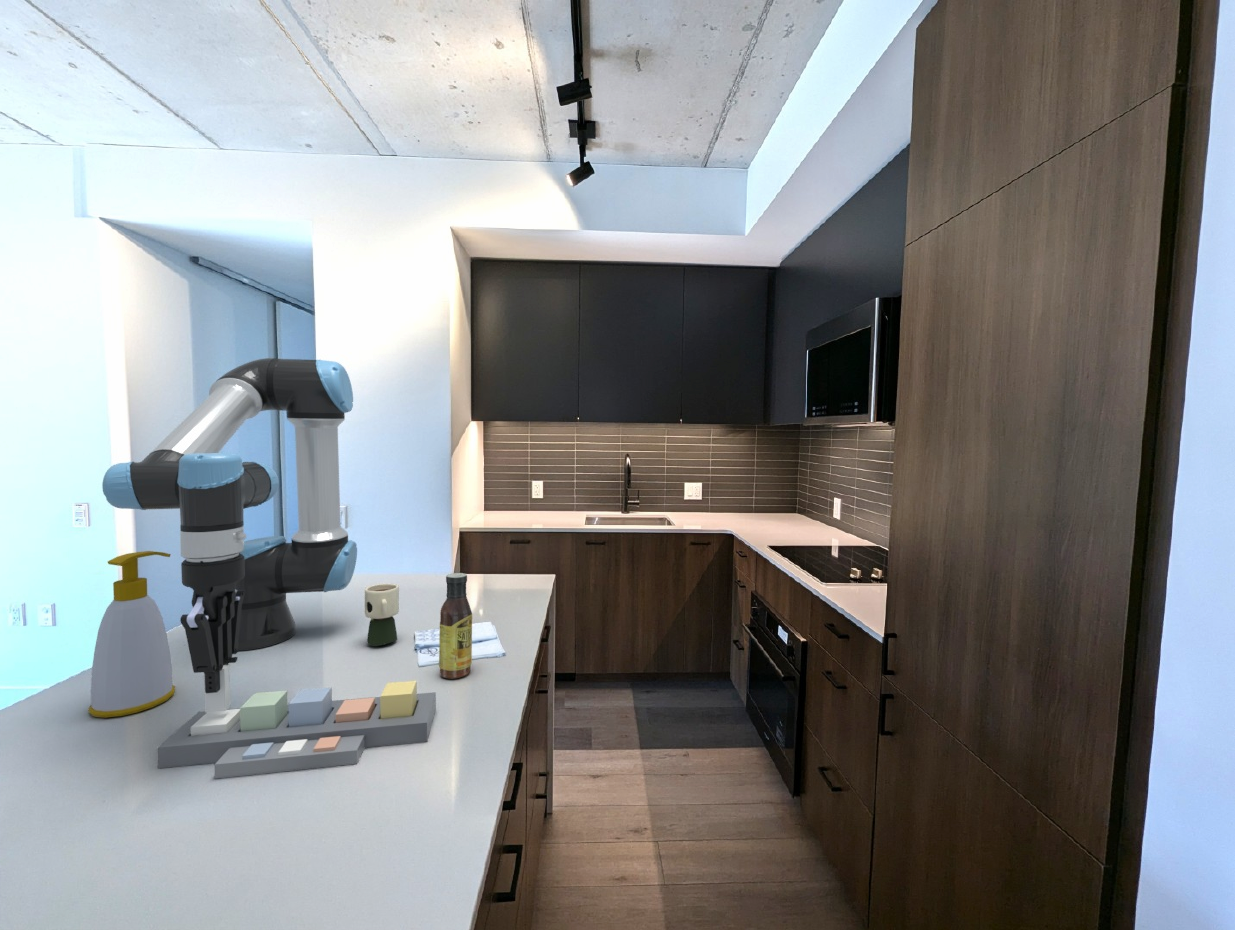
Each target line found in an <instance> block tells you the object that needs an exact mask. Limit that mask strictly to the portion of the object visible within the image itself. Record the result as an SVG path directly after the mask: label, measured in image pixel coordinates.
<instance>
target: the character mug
mask: <svg viewBox="0 0 1235 930" xmlns="http://www.w3.org/2000/svg"><path fill="white" fill-rule="evenodd" d="M399 592H400V586H399V585H398V584H397V583H396V584H395V583H379V584H377V583H376V584H373V585H368V586H367V587H365V589H364V615H365V617H366V618H369V619H370V621H369V625H368V632H367V641H366V642H367V645H369V646H372V647H378V646H385V645H387V644H391V643H393V642H396V641H397V640H398V635H397V634H398V633H397V626H396V621H395V618H394V616H396V615H398V614H399V611H400V596H399V595H400V593H399Z"/></svg>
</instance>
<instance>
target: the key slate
mask: <svg viewBox="0 0 1235 930" xmlns="http://www.w3.org/2000/svg"><path fill="white" fill-rule="evenodd" d="M332 688H333V687H332V686H331V687H329V686H328V687H318V688H317V687H315V688H305V689H302V688H301V689H300V690H298V692H297V693H296V694H295V696H294V697H293V698H292V699H291V700H290V702H288V704H289V727H298V726H309V725H320V724H324V723H325V721H326V720H327V718H328V717H329V715H330V714H331V712H332V701H333V689H332Z"/></svg>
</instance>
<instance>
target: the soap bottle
mask: <svg viewBox="0 0 1235 930" xmlns="http://www.w3.org/2000/svg"><path fill="white" fill-rule="evenodd" d="M171 555H172V554H171V553H167V552H162V551H153V550H143V551H136V552H129V553H125V554H122V555H118V556H116V557H114V558H111V559H110V560H108V561H107V564H108V565H109V566H110V565H112V566H120V567H121V574H122V575H121V577H122V579H120V580H119V579H118V580H116V581H113V583H112V585H113V586H112V587H113V599H112V601H111V602H110V604H109V605H108V606H107V607H106V609H105V612H104V614H103V616H102V618H101V621H100V624H99V626H98V630H97V636H96V641H95V646H94V651H93V659H92V665H91V677H90V678H91V679H90V681H91V682H90V705H89V707H88V713H89V715H91V716H93V717H96V718H103V719H104V718H115V717H122V716H127V715H128V716H129V715H132V714H136V713H140V712H144V711H145V710H148V709H151V708H155V707H157V706H158V705H161V704H162V703H165V702H167V701H168V700H169V699H171V698H172V697H173V695H175V690H176V686H175V685H173V667H172V665H173V664H172V659H171V649H170V645H169V640H168V635H167V630H166V627H165V623H164V618H163V616H162V613H161V611H160V608H159V606H158V605H157V604H156V601H155V600H154V599H153V598H152V597H151V596H150V595H148V579H147V578H146V577H139V567H138V566H139V564H138V563H139V562H138V561H139V558H144V557H152V556H161V557H167V558H170V557H171Z"/></svg>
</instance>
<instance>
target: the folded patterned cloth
mask: <svg viewBox="0 0 1235 930" xmlns="http://www.w3.org/2000/svg"><path fill="white" fill-rule="evenodd" d="M413 632H414V633H413V636H414V647H413V648H414V649H415V651H414V654H416V655H417V666H418V668H424V667H430V666H435V665H436V666H437V665H439V638H440V627H439V628H434V629H424V630H416V631H413ZM499 637H500V636H499V635H498V632H497V629H496V625H494V624H493V623H492V621H487V622H485V621H483V622H476V623H472V661H473V660H481V659H489V658H490V659H493V658H502V657H503V656H507V655H506V654H507V652H506V651H505V649H504V647H503V645H502V642H501V641H500V638H499Z"/></svg>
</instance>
